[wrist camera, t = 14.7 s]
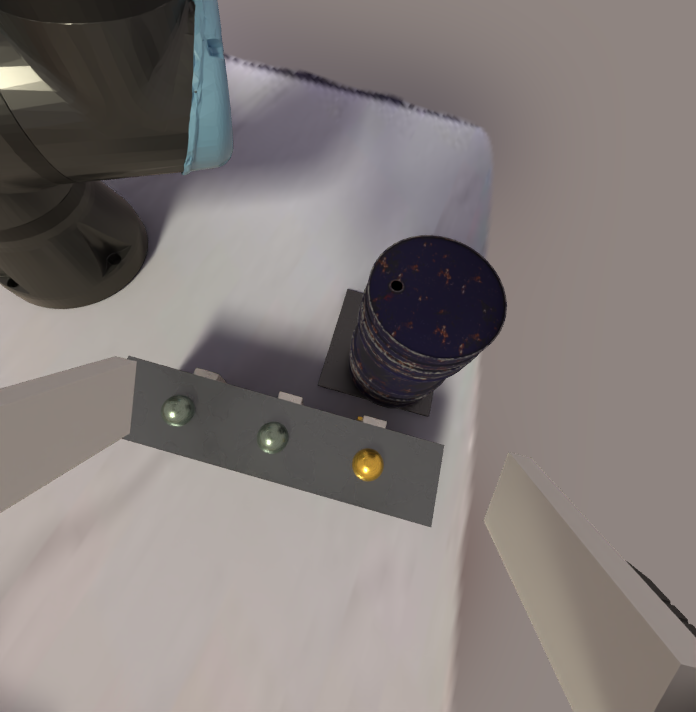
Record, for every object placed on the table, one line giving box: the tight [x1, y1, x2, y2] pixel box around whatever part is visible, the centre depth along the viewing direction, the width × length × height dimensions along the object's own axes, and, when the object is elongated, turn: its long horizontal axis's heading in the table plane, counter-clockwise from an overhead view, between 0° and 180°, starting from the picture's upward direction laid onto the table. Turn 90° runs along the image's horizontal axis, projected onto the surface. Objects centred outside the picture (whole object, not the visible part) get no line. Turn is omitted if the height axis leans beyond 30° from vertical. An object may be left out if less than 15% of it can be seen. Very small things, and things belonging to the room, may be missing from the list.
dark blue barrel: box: [348, 235, 507, 408], centre depth 30 cm, size 10×10×15 cm
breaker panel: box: [121, 289, 444, 527], centre depth 32 cm, size 26×22×9 cm
